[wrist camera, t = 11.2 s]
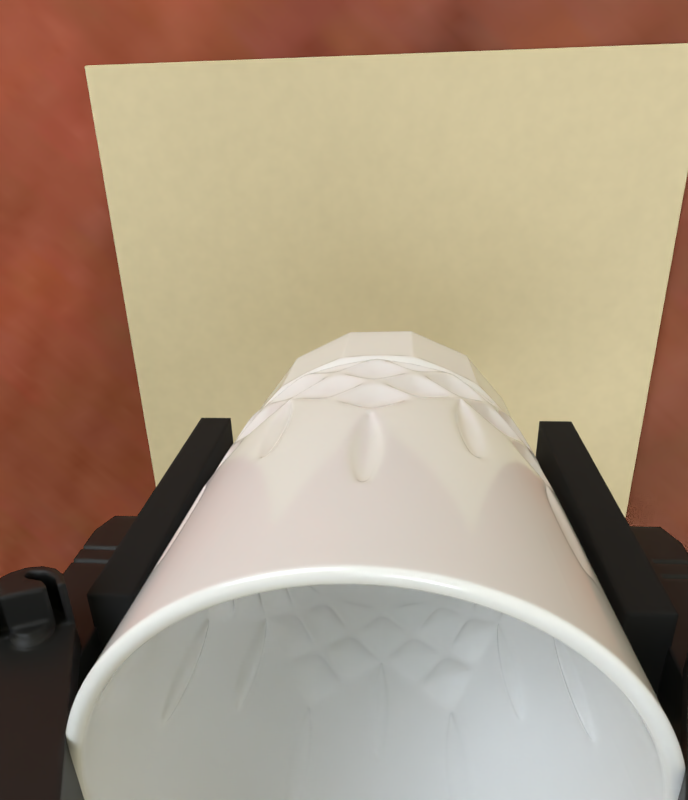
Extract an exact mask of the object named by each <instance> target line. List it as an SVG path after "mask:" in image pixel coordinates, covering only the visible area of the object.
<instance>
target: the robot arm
mask: <svg viewBox="0 0 688 800" xmlns="http://www.w3.org/2000/svg"><path fill="white" fill-rule="evenodd" d="M232 445H233V434H232V425H231V418H201V419H200V421H199V422H198V424H197V425H196V427H195V428H194V430H193V431H192V433H191V434H190V436H189V438H188V439H187V441H186V442H185V444H184V445H183V447H182V448H181V450H180V451H179V453H178V454H177V456H176V458H175V459H174V461H173V462H172V464H171V465H170V467H169V468H168V470H167V471H166V473H165V474H164V476H163V478H162V479H161V481H160V482H159V484H158V485H157V487H156V488H155V490H154V491H153V493H152V494H151V496H150V498H149V499H148V501H147V502H146V504H145V505H144V507H143V508H142V510H141V511H140V513H139V514H138V516H114V517H113V518H111V519H110V520H109V521H107V522H106V523H104V524H103V525H102V526H100V527H99V528H97V529H96V530H95V531H94V533H93V534H92V535H91V537H90V538H89V539H88V541H87V542H86V544H85V545H84V549H81V550H80V552H79V553H78V555H77V556H76V557H75V559H74V563H71V564H70V566H69V567H68V568H67V570H66V571H65V572H64V574H62V573H60V572H59V571H58V570H56V569H54V568H48V567H43V566H41V567H30V568H24V569H21V570H18V571H15V572H11V573H9V574H7V575H5V576H3V577H1V578H0V800H84V797H83V794H82V790H81V787H80V784H79V781H78V778H77V774H76V771H75V768H74V765H73V762H72V758H71V755H70V751H69V748H68V744H67V739H66V727H67V722H68V718H69V714H70V711H71V708H72V705H73V702H74V700H75V697H76V695H77V693H78V691H79V689H80V687H81V685H82V683H83V681H84V680H85V678H86V676H87V675H88V673H89V672H90V670H91V668H92V667H93V665H94V664H95V662H96V660H97V659H98V657H99V656H100V654H101V652H102V651H103V649H104V648H105V646H106V644H107V643H108V641H109V640H110V638H111V636H112V635H113V633H114V632H115V630H116V628H117V627H118V625H119V624H120V622H121V620H122V619H123V617H124V616H125V614H126V612H127V611H128V609H129V608H130V606H131V604H132V603H133V601H134V600H135V598H136V596H137V595H138V593H139V591H140V590H141V588H142V587H143V585H144V583H145V582H146V580H147V578H148V577H149V575H150V574H151V572H152V570H153V569H154V567H155V565H156V564H157V562H158V561H159V559H160V557H161V556H162V554H163V552H164V551H165V549H166V547H167V546H168V544H169V543H170V541H171V539H172V538H173V536H174V534H175V533H176V531H177V529H178V528H179V526H180V525H181V523H182V521H183V520H184V518H185V516H186V515H187V513H188V511H189V510H190V508H191V506H192V505H193V503H194V501H195V500H196V498H197V497H198V495H199V493H200V492H201V490H202V489H203V487H204V486H205V485H206V483H207V482H208V480H209V479H210V478H211V477H212V475H213V474H214V473H215V471H216V469H217V468H218V466H219V464H220V463H221V461H222V460H223V458H224V456H225V455H226V453H227V452H228V450H229V449H230V447H231V446H232ZM536 458H537V460H538V462H539V465H540V467H541V469H542V471H543V473H544V475H545V477H546V478H547V480H548V482H549V483H550V485H551V487H552V489H553V491H554V492H555V494H556V496H557V498H558V499H559V501H560V503H561V505H562V507H563V509H564V511H565V513H566V515H567V517H568V519H569V521H570V523H571V525H572V527H573V529H574V531H575V533H576V535H577V537H578V539H579V541H580V543H581V545H582V547H583V549H584V551H585V553H586V555H587V557H588V560H589V562H590V564H591V566H592V568H593V570H594V572H595V574H596V576H597V578H598V580H599V582H600V584H601V586H602V588H603V590H604V592H605V594H606V596H607V598H608V600H609V602H610V604H611V606H612V608H613V610H614V612H615V614H616V616H617V618H618V620H619V622H620V624H621V626H622V628H623V630H624V632H625V634H626V636H627V638H628V640H629V642H630V644H631V646H632V648H633V650H634V652H635V654H636V656H637V658H638V660H639V662H640V664H641V666H642V668H643V670H644V672H645V674H646V676H647V678H648V680H649V682H650V684H651V686H652V688H653V690H654V692H655V694H656V696H657V698H658V700H659V702H660V704H661V706H662V708H663V709H664V711H665V713H666V715H667V717H668V719H669V721H670V723H671V725H672V727H673V730H674V732H675V734H676V737H677V739H678V742H679V745H680V748H681V751H682V754H683V758H684V762H685V767H686V769H685V774H684V778H683V782H682V786H681V790H680V794H679V797H678V800H688V553H687V551H686V550H685V548H684V546H683V545H682V543H681V542H679V541H678V540H677V539H675V538H674V537H673V536H671V535H670V534H669V533H667V532H666V531H665V530H663V529H662V528H661V527H635V526H629V524H628V522H627V521H626V519H625V517H624V515H623V513H622V512H621V510H620V508H619V506H618V504H617V503H616V501H615V499H614V497H613V495H612V494H611V492H610V490H609V488H608V486H607V485H606V483H605V481H604V479H603V477H602V476H601V474H600V472H599V470H598V468H597V467H596V465H595V463H594V461H593V459H592V458H591V456H590V454H589V452H588V450H587V449H586V447H585V445H584V443H583V441H582V440H581V438H580V436H579V434H578V432H577V431H576V429H575V427H574V425H573V423H572V422H571V421H539V430H538V439H537V448H536Z"/></svg>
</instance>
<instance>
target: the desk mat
mask: <svg viewBox="0 0 688 800" xmlns="http://www.w3.org/2000/svg"><path fill="white" fill-rule="evenodd" d="M85 72H86V78H87V84H88V89H89V95H90V101H91V107H92V113H93V119H94V125H95V131H96V137H97V142H98V148H99V154H100V160H101V166H102V172H103V178H104V184H105V189H106V195H107V201H108V207H109V213H110V219H111V225H112V231H113V236H114V242H115V248H116V254H117V260H118V266H119V272H120V278H121V284H122V289H123V295H124V301H125V307H126V313H127V319H128V325H129V331H130V336H131V342H132V348H133V354H134V360H135V366H136V372H137V378H138V384H139V389H140V395H141V401H142V407H143V413H144V419H145V425H146V431H147V436H148V442H149V448H150V454H151V460H152V466H153V472H154V478H155V484H156V487H157V485H158V484H159V482H160V481H161V479H162V478H163V476H164V474H165V473H166V471H167V470H168V468H169V467H170V465H171V464H172V462H173V461H174V459H175V458H176V456H177V454H178V453H179V451H180V450H181V448H182V447H183V445H184V444H185V442H186V441H187V439H188V438H189V436H190V434H191V433H192V431H193V430H194V428H195V427H196V425H197V424H198V422H199V421H200V419H201V418H231V425H232V434H233V443H234V442H235V441H236V439H237V438H238V436H239V434H240V433H241V431H242V430H243V428H244V427H245V425H246V424H247V422H248V421H249V419H250V418H251V417H252V416H253V415H254V414H255V413H256V412H257V411H259V410H260V408H261V407H262V405H263V403H264V402H265V400H266V399H267V398H268V396H269V395H270V394H271V392H272V391H273V390H274V388H275V387H276V386H277V384H278V383H279V382H280V380H281V379H282V378H283V376H284V375H285V374H286V372H287V371H288V370H289V368H290V367H291V366H292V364H293V363H294V362H295V360H296V359H297V358H298V357H300V356H302V355H304V354H306V353H308V352H310V351H313V350H315V349H317V348H319V347H321V346H323V345H325V344H327V343H329V342H331V341H333V340H335V339H337V338H339V337H341V336H343V335H345V334H347V333H350V332H387V331H412V332H414V333H417V334H419V335H421V336H423V337H426V338H428V339H430V340H433V341H435V342H437V343H439V344H442V345H444V346H446V347H448V348H451V349H453V350H455V351H458V352H460V353H462V354H464V355H466V356H467V357H468V358H469V359H470V360H471V362H472V363H473V364H474V365H475V366H476V368H477V369H478V370H479V371H480V372H481V374H482V375H483V376H484V377H485V378H486V380H487V381H488V382H489V383H490V384H491V386H492V387H493V388H494V389H495V390H496V392H497V393H498V394H499V395H500V396H501V398H502V399H503V400H504V402H505V405H506V407H507V409H508V411H509V413H510V415H511V418H512V420H513V421H514V422H515V424H516V425H517V427H518V428H519V430H520V431H521V433H522V435H523V436H524V438H525V439H526V441H527V443H528V444H529V446H530V448H531V450H532V451H533V453H534V455H535V457H536V448H537V439H538V430H539V421H571V422H572V423H573V425H574V427H575V429H576V431H577V432H578V434H579V436H580V438H581V440H582V441H583V443H584V445H585V447H586V449H587V450H588V452H589V454H590V456H591V458H592V459H593V461H594V463H595V465H596V467H597V468H598V470H599V472H600V474H601V476H602V477H603V479H604V481H605V483H606V485H607V486H608V488H609V490H610V492H611V494H612V495H613V497H614V499H615V501H616V503H617V504H618V506H619V508H620V510H621V512H622V513H623V515H624V517H626V511H627V506H628V500H629V495H630V489H631V483H632V478H633V472H634V467H635V461H636V456H637V450H638V445H639V439H640V434H641V428H642V422H643V417H644V411H645V406H646V400H647V395H648V389H649V384H650V378H651V373H652V367H653V361H654V356H655V350H656V345H657V339H658V334H659V328H660V323H661V317H662V312H663V306H664V300H665V295H666V289H667V284H668V278H669V273H670V267H671V262H672V256H673V251H674V245H675V239H676V234H677V228H678V223H679V217H680V212H681V206H682V201H683V195H684V190H685V184H686V178H687V173H688V43H680V44H653V45H626V46H599V47H572V48H545V49H518V50H491V51H465V52H438V53H411V54H384V55H357V56H330V57H303V58H276V59H249V60H222V61H195V62H168V63H141V64H114V65H87V66H85Z"/></svg>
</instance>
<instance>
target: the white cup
mask: <svg viewBox="0 0 688 800" xmlns="http://www.w3.org/2000/svg"><path fill="white" fill-rule="evenodd" d="M66 739H67V744H68V748H69V751H70V755H71V758H72V762H73V765H74V768H75V771H76V774H77V778H78V781H79V784H80V787H81V790H82V794H83V797H84V800H678V797H679V794H680V790H681V786H682V782H683V778H684V774H685V769H686V767H685V762H684V758H683V754H682V751H681V748H680V745H679V742H678V739H677V737H676V734H675V732H674V730H673V727H672V725H671V723H670V721H669V719H668V717H667V715H666V713H665V711H664V709H663V708H662V706H661V704H660V702H659V700H658V698H657V696H656V694H655V692H654V690H653V688H652V686H651V684H650V682H649V680H648V678H647V676H646V674H645V672H644V670H643V668H642V666H641V664H640V662H639V660H638V658H637V656H636V654H635V652H634V650H633V648H632V646H631V644H630V642H629V640H628V638H627V636H626V634H625V632H624V630H623V628H622V626H621V624H620V622H619V620H618V618H617V616H616V614H615V612H614V610H613V608H612V606H611V604H610V602H609V600H608V598H607V596H606V594H605V592H604V590H603V588H602V586H601V584H600V582H599V580H598V578H597V576H596V574H595V572H594V570H593V568H592V566H591V564H590V562H589V560H588V557H587V555H586V553H585V551H584V549H583V547H582V545H581V543H580V541H579V539H578V537H577V535H576V533H575V531H574V529H573V527H572V525H571V523H570V521H569V519H568V517H567V515H566V513H565V511H564V509H563V507H562V505H561V503H560V501H559V499H558V498H557V496H556V494H555V492H554V491H553V489H552V487H551V485H550V483H549V482H548V480H547V478H546V477H545V475H544V473H543V471H542V469H541V467H540V465H539V462H538V460H537V458H536V457H535V455H534V453H533V451H532V450H531V448H530V446H529V444H528V443H527V441H526V439H525V438H524V436H523V435H522V433H521V431H520V430H519V428H518V427H517V425H516V424H515V422H514V421H513V420H512V418H511V415H510V413H509V411H508V409H507V407H506V405H505V402H504V400H503V399H502V398H501V396H500V395H499V394H498V393H497V392H496V390H495V389H494V388H493V387H492V386H491V384H490V383H489V382H488V381H487V380H486V378H485V377H484V376H483V375H482V374H481V372H480V371H479V370H478V369H477V368H476V366H475V365H474V364H473V363H472V362H471V360H470V359H469V358H468V357H467V356H466V355H464V354H462V353H460V352H458V351H455V350H453V349H451V348H448V347H446V346H444V345H442V344H439V343H437V342H435V341H433V340H430V339H428V338H426V337H423V336H421V335H419V334H417V333H414V332H412V331H387V332H350V333H347V334H345V335H343V336H341V337H339V338H337V339H335V340H333V341H331V342H329V343H327V344H325V345H323V346H321V347H319V348H317V349H315V350H313V351H310V352H308V353H306V354H304V355H302V356H300V357H298V358H297V359H296V360H295V362H294V363H293V364H292V366H291V367H290V368H289V370H288V371H287V372H286V374H285V375H284V376H283V378H282V379H281V380H280V382H279V383H278V384H277V386H276V387H275V388H274V390H273V391H272V392H271V394H270V395H269V396H268V398H267V399H266V400H265V402H264V403H263V405H262V407H261V408H260V410H259V411H257V412H256V413H255V414H254V415H253V416H252V417H251V418H250V419H249V421H248V422H247V424H246V425H245V427H244V428H243V430H242V431H241V433H240V434H239V436H238V438H237V439H236V441H235V442H234V443H233V445H232V446H231V447H230V449H229V450H228V452H227V453H226V455H225V456H224V458H223V460H222V461H221V463H220V464H219V466H218V468H217V469H216V471H215V473H214V474H213V475H212V477H211V478H210V479H209V480H208V482H207V483H206V485H205V486H204V487H203V489H202V490H201V492H200V493H199V495H198V497H197V498H196V500H195V501H194V503H193V505H192V506H191V508H190V510H189V511H188V513H187V515H186V516H185V518H184V520H183V521H182V523H181V525H180V526H179V528H178V529H177V531H176V533H175V534H174V536H173V538H172V539H171V541H170V543H169V544H168V546H167V547H166V549H165V551H164V552H163V554H162V556H161V557H160V559H159V561H158V562H157V564H156V565H155V567H154V569H153V570H152V572H151V574H150V575H149V577H148V578H147V580H146V582H145V583H144V585H143V587H142V588H141V590H140V591H139V593H138V595H137V596H136V598H135V600H134V601H133V603H132V604H131V606H130V608H129V609H128V611H127V612H126V614H125V616H124V617H123V619H122V620H121V622H120V624H119V625H118V627H117V628H116V630H115V632H114V633H113V635H112V636H111V638H110V640H109V641H108V643H107V644H106V646H105V648H104V649H103V651H102V652H101V654H100V656H99V657H98V659H97V660H96V662H95V664H94V665H93V667H92V668H91V670H90V672H89V673H88V675H87V676H86V678H85V680H84V681H83V683H82V685H81V687H80V689H79V691H78V693H77V695H76V697H75V700H74V702H73V705H72V708H71V711H70V714H69V718H68V722H67V727H66Z"/></svg>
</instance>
